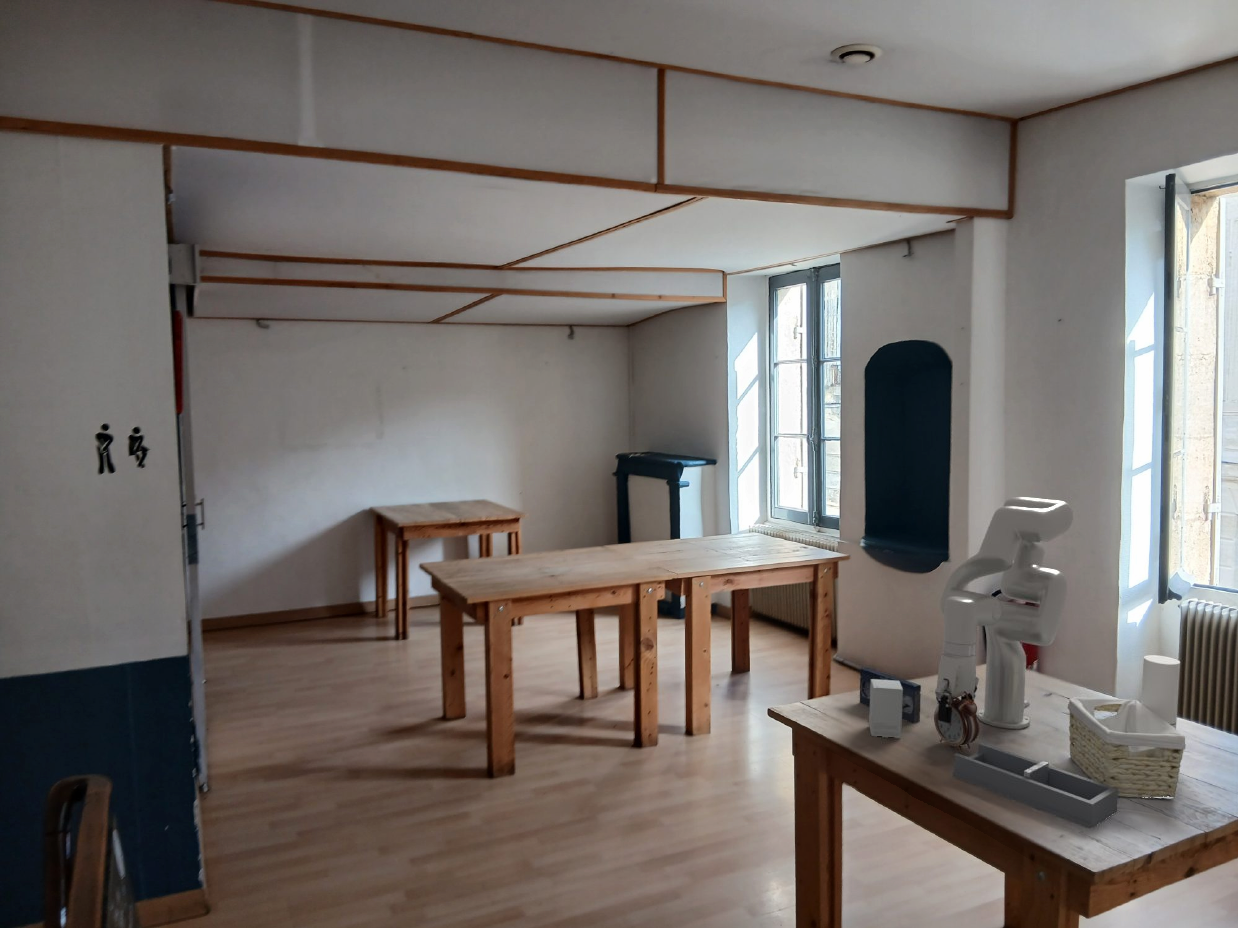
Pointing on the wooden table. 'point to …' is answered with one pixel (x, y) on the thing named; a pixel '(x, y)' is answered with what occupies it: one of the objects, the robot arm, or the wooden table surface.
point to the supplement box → (885, 708)
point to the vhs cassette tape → (909, 693)
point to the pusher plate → (1038, 773)
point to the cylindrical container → (1161, 686)
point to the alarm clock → (959, 723)
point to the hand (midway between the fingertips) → (955, 717)
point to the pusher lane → (1038, 786)
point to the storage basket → (1125, 747)
